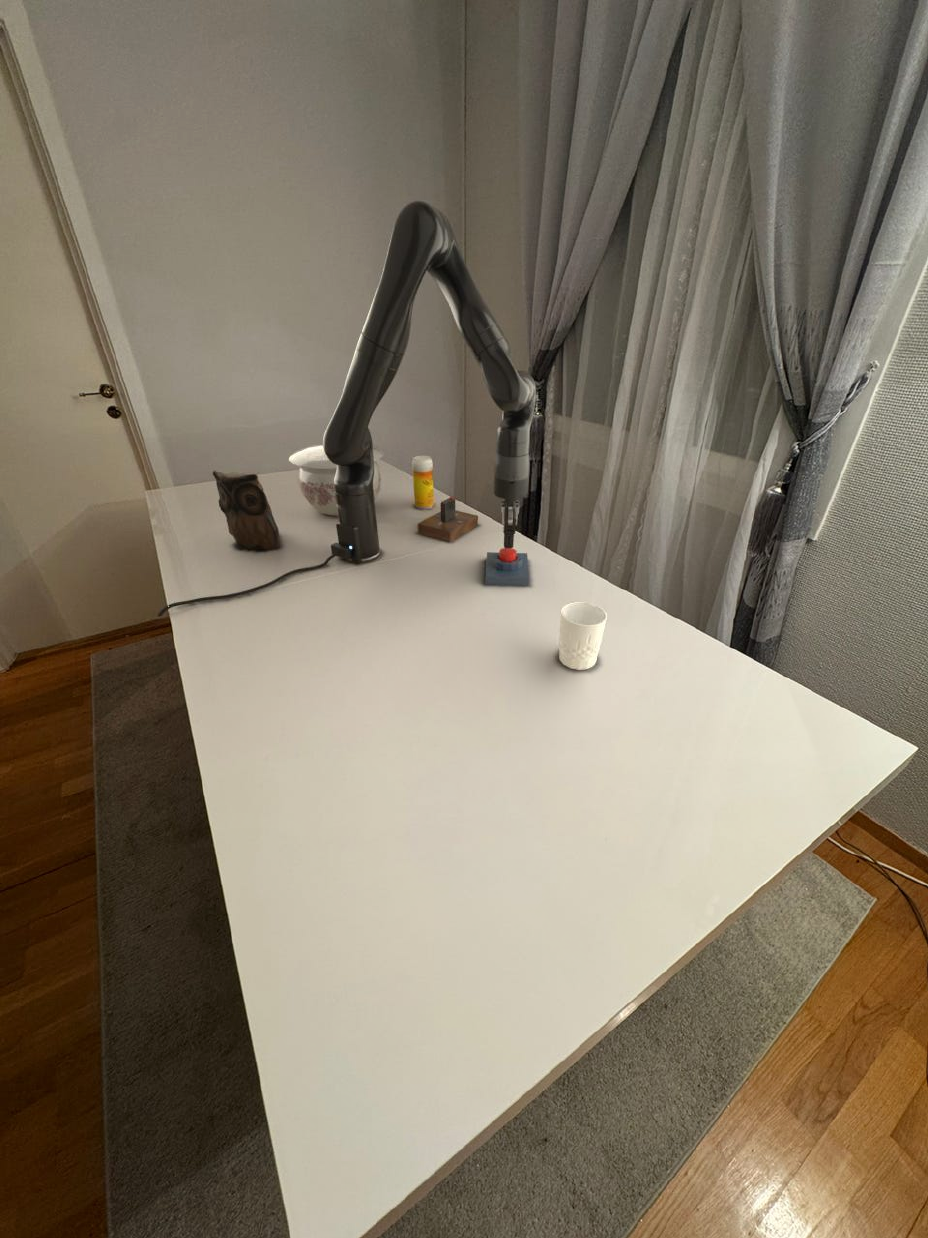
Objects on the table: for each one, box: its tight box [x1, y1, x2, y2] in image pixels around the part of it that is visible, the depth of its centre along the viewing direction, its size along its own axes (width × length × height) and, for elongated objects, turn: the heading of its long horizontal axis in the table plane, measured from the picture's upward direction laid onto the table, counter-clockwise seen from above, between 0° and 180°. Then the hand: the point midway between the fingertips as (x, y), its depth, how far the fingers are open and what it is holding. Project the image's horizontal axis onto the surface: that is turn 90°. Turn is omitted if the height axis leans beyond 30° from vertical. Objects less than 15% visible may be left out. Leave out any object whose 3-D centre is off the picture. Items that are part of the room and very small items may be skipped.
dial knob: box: [440, 496, 456, 522], centre depth 144 cm, size 5×2×6 cm, turn 146°
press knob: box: [498, 547, 517, 562], centre depth 123 cm, size 4×4×2 cm
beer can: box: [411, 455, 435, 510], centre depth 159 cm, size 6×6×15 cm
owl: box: [212, 470, 281, 553], centre depth 134 cm, size 13×13×20 cm
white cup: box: [558, 601, 608, 671], centre depth 93 cm, size 8×8×10 cm
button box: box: [484, 551, 530, 587], centre depth 124 cm, size 13×10×4 cm
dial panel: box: [417, 509, 479, 543], centre depth 147 cm, size 14×11×3 cm
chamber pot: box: [288, 443, 385, 517], centre depth 156 cm, size 28×28×21 cm
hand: (508, 546), depth 121 cm, fingers closed
